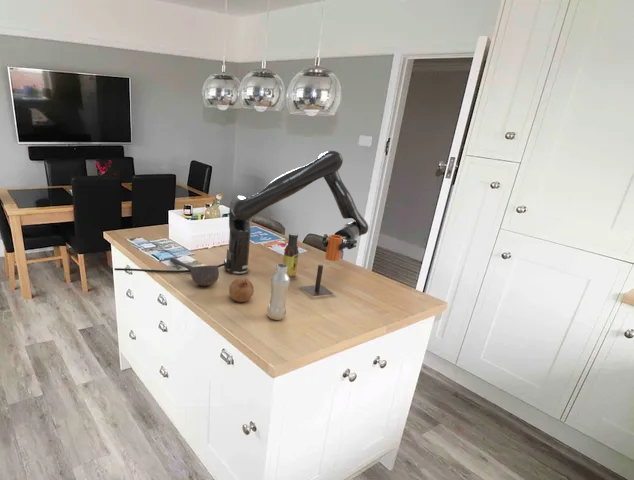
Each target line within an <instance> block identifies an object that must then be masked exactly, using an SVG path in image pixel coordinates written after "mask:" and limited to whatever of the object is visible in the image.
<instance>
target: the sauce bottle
mask: <svg viewBox="0 0 634 480" xmlns="http://www.w3.org/2000/svg"><path fill="white" fill-rule="evenodd" d="M298 238H299V234H298V233H296V232H289V233H288V242H287V245H286V246H285V248H284V254H283V261H282V264H285V265H287V272H286V273H287V274H288V276H289V278H290V279H293V278H295V277H296V275H297V268H298V260H299V254H300V253H299V252H300V251H299V248H298Z"/></svg>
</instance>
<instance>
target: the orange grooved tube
mask: <svg viewBox="0 0 634 480" xmlns="http://www.w3.org/2000/svg"><path fill="white" fill-rule="evenodd" d="M328 237H329V238H328V245H327V247H326V250H325V251H326V252H325V260H328V261H331V262H337V261H339V260H340V256H341V250H339V245H340V244H341V243H342V239H343V237H342V236H339V235H334V234H329V235H328Z"/></svg>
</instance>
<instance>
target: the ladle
mask: <svg viewBox="0 0 634 480" xmlns="http://www.w3.org/2000/svg"><path fill="white" fill-rule="evenodd" d="M169 261H170V262H171V263H173V264H174V265H176V266H180V267H182V268H185V269H186V270H190V271H191V272H190V274H191V278H192V281H193V282H194V283H195V284H196V285H198V286H200V287H206V286H211V285H214V284H215V283H217V281H218V279H219V276H220V275H219V274H220V272H219V268H218V265H219V264H218V265H214V264H213V265H198V266H193V265H192V264H191V265H190V264H187V263H185V262H183V261H181V260H180V259H177V258H175V257H170V258H169Z"/></svg>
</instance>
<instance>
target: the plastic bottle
mask: <svg viewBox="0 0 634 480" xmlns="http://www.w3.org/2000/svg"><path fill="white" fill-rule="evenodd" d="M286 272H287V265H285V264H283V263H277V264H276V268H275V272H274V274H272V276H271V278H270V298H269V304H268V306H267V310H266V314H267V316H268V318H269V319H271V320H275V321H280V320H283V319H284V318H285V317H286V313H287V296H288V290H289V286H290V284H291V278H289V276H288V274H287V273H286Z"/></svg>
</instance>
